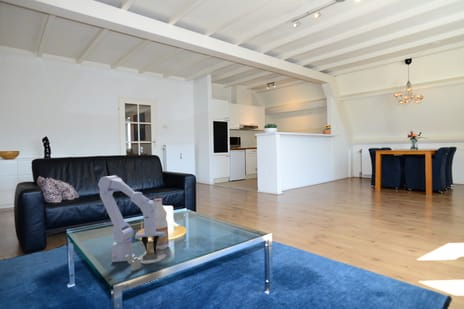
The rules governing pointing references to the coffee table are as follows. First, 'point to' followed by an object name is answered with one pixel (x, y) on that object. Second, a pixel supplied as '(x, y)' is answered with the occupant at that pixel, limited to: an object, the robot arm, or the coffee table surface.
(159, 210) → the fruit juice
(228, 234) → the coffee table surface
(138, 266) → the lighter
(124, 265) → the coffee table surface
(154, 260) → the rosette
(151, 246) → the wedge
